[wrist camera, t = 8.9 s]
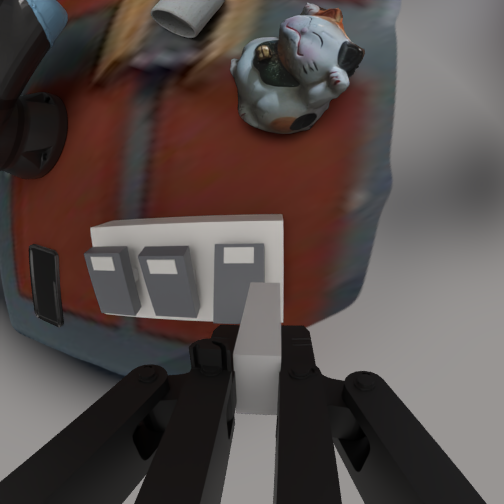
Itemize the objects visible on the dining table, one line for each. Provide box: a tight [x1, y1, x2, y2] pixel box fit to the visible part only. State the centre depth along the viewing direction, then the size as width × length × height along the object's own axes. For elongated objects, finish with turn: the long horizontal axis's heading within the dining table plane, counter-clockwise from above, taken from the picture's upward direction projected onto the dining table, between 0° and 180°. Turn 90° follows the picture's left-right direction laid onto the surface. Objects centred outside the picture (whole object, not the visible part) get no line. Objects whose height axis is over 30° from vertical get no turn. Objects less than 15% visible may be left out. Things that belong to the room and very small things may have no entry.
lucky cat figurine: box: [230, 3, 365, 134], centre depth 26 cm, size 15×12×14 cm
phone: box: [29, 244, 64, 327], centre depth 43 cm, size 8×1×15 cm
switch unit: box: [90, 214, 283, 322], centre depth 35 cm, size 24×12×8 cm, turn 92°
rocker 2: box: [138, 246, 200, 318], centre depth 30 cm, size 8×5×2 cm, turn 2°
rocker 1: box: [84, 246, 142, 316], centre depth 31 cm, size 8×5×2 cm, turn 2°
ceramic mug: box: [151, 0, 225, 38], centre depth 26 cm, size 11×8×8 cm
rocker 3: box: [213, 243, 265, 324], centre depth 30 cm, size 8×5×2 cm, turn 2°
